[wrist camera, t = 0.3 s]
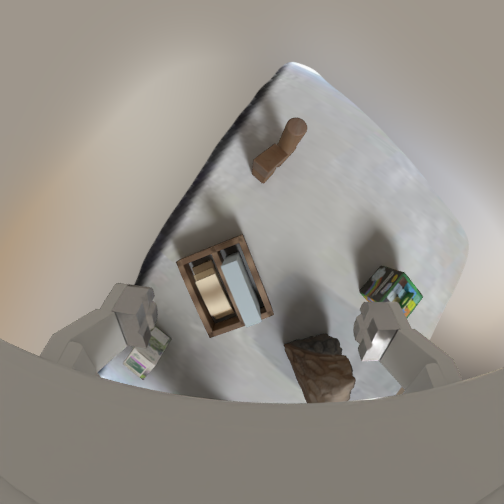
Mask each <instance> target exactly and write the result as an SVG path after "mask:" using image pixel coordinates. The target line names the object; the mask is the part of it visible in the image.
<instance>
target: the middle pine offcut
mask: <svg viewBox="0 0 504 504" xmlns="http://www.w3.org/2000/svg"><path fill="white" fill-rule="evenodd" d="M215 272H216V270H215V267H214V266H213V267H210V268H208V269H206V270H203V271H201V272H199V273H196V274H195V275H194V278H195V280H196V281H197V280H198V279H201V278H203V277H206V276H208V275H210V274H213V273H215ZM216 273H217V272H216ZM217 275H218V274H217ZM218 277H219V276H218ZM219 280H220V278H219ZM220 282H221V281H220ZM221 284H222V283H221ZM222 286H223V285H222ZM223 288H224V287H223ZM224 291H225V289H224ZM225 293H226V292H225ZM226 295H227V294H226ZM227 297H228V296H227ZM228 299H229V298H228ZM229 301H230V300H229ZM230 304H231V302H230ZM230 309H232V304H231V308H230ZM230 309H227V310H225V311H228V310H230ZM225 311H222V312H219V313H217V314H214V315H213V316H215V315H218V314H220V313H223V312H225Z"/></svg>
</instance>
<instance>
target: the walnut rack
mask: <svg viewBox="0 0 504 504" xmlns="http://www.w3.org/2000/svg"><path fill="white" fill-rule="evenodd" d="M238 243H240V246H241V248H242V251H243V253H244V256H245V258H246V261H247V264H248V266H249V269H250V271H251V274H252V276H253V279H254V281H255V284H256V286H257V289H258V291H259V294H260V296H261V299H262V301H263V304H264V306H262V307H260V313H261V319H264V318H267V317H270V316H272V315H274V313H273V310H272V307H271V304H270V302H269V299H268V297H267V294H266V292H265V289H264V287H263V284H262V282H261V279H260V276H259V274H258V271H257V269H256V266H255V264H254V261H253V259H252V256H251V254H250V251H249V249H248V246H247V243H246V241H245V238H244V236H243V234H242V235H239V236H237V237H234V238H232V239H229V240H227V241H224V242H222V243H219V244H217V245H214V246H212V247H209V248H207V249H204V250H202V251H199V252H197V253H194V254H192V255H189V256H187V257H184V258H182V259H180V260H178V261H177V262H176V263H177V266H178V268H179V271H180V273H181V275H182V278H183V280H184V282H185V285H186V287H187V289H188V292H189V294H190V296H191V298H192V301H193V303H194V305H195V307H196V309H197V312H198V314H199V316H200V318H201V320H202V322H203V325H204V327H205V329H206V331H207V333H208V335H209V337H210V338H211V337H214V336H217V335H220V334H223V333H226V332H229V331H231V330H234V329H237V328H240V327H243V326H245V323H244V321H243V319H242V316H241V314H240V312H239V309H238V307H237V305H236V302H235V300H234V298H233V295H232V293H231V291H230V288H229V286H228V283H227V281H226V279H225V276H224V274H223V271H222V269H221V265H222V263H223V261H224V260H223V258H222V255H221V253H220V250H222V249H225V248H227V247H230V246H233V245H235V244H238ZM210 254H212V256H213V259H214V261H215V264H216V266H217V269H218V271H219V273H220V276H221V278H222V281H223V283H224V285H225V288H226V290H227V292H228V295H229V297H230V300H231V302H232V304H233V307H234V309H235V311H236V313H237V316H235V317H232V318H229V319H227V320H224V321H221V322H218V323H214V321H213V319H212V316H211V314H210V312H209V310H208V308H207V306H206V304H205V302H204V300H203V298H202V296H201V293H200V291H199V289H198V287H197V285H196V283H195V282H196V280H195V278H194V275H193V273H192V270H191V268H190V266H189V263H190V262H192V261H195V260H197V259H200V258H202V257H205V256H207V255H210Z"/></svg>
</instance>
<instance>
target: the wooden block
mask: <svg viewBox="0 0 504 504" xmlns="http://www.w3.org/2000/svg"><path fill="white" fill-rule="evenodd" d="M306 132H307V125H306V123H305V122H304V120H302V119H300V118H291V119H290V120H289V121H288V122H287V124H286V126H285V129H284V131H283V133H282V136H281V138H280V140H279V143H278V144H274V145H272V146H271V147H270V148H268V149H267V150H266V151H264V152H263V153H261V154H260V155H259V156H257V157H256V158H255V159H254V160H253V169H252V175H253V176H255V177H256V178H257V179H258V180H259V181H260V182H261V183H265V182H266V181H267V180H268V178H269V177H270V176H271V175H272V174H273V173H274V171H275V169H276V167H280V166H281V164H282V163H283V162H284V161H285V160H286V159H287V158H288V157H289V156H290V155H291V154H292V153H293V152H294V150H295V149H296V146H297V145H298V143H299V142H300V140H301V139H302V137H303V136H304V135H305V133H306Z"/></svg>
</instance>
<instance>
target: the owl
mask: <svg viewBox="0 0 504 504" xmlns="http://www.w3.org/2000/svg"><path fill="white" fill-rule="evenodd" d="M284 347H285V352H286V354H287V357H288V359H289V360H290V362H291V365H292V368H293V370H294V373H295V376H296V378H297V381H298V383H299V385H300V387H301V388H302V391H303V394H304V397H305V400H306V402H307V403H328V402H343V401H348V400H349V399H350V394H351V390H352V389H353V388H354V385H355V381H356V379H355V378H354V377H353V376H352V375H353V373H352V372H353V370H352V366H351V364H350V361H349V359H348V358H347V357H346V356H344V355H341V354H342V348H340V343H339V340H338V339H337V338H333V337H330V336H328V334H320V335H317V336H315V337H313V336H311V337H309V338H306V339H303V340H295V341H293V342H291V343H287V344H284Z"/></svg>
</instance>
